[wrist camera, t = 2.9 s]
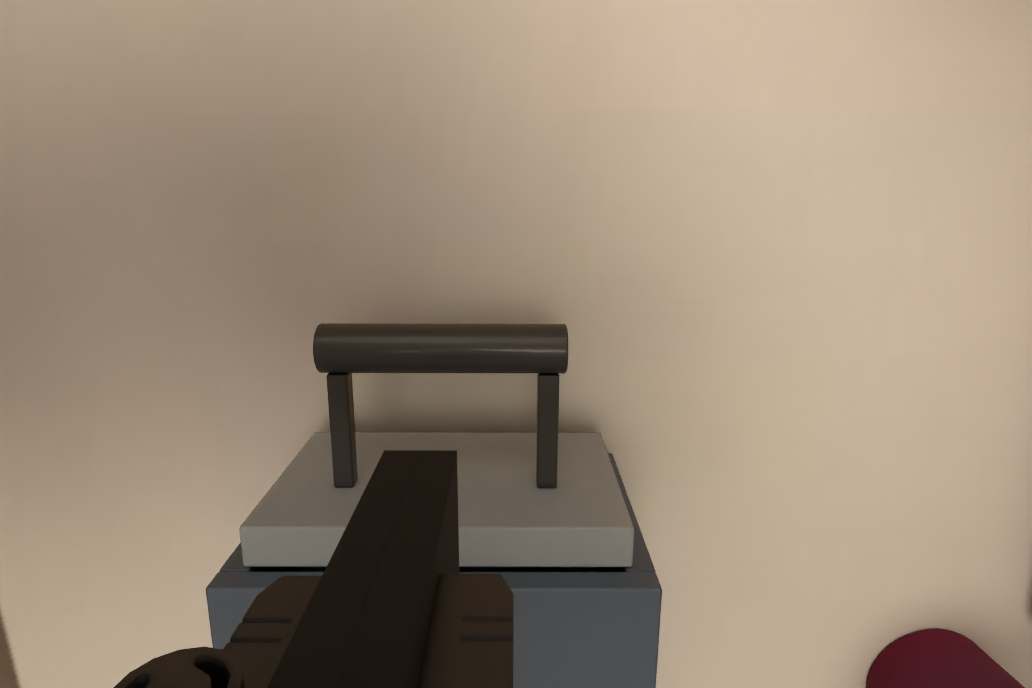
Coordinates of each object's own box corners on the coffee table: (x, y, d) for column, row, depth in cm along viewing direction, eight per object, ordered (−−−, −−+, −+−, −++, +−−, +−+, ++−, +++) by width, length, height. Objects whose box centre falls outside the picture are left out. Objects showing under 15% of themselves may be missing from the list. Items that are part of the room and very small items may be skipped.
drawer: (304, 297, 22) (218, 345, 16) (605, 299, 23) (644, 346, 16) (335, 718, 27) (277, 894, 20) (590, 718, 27) (615, 893, 20)
